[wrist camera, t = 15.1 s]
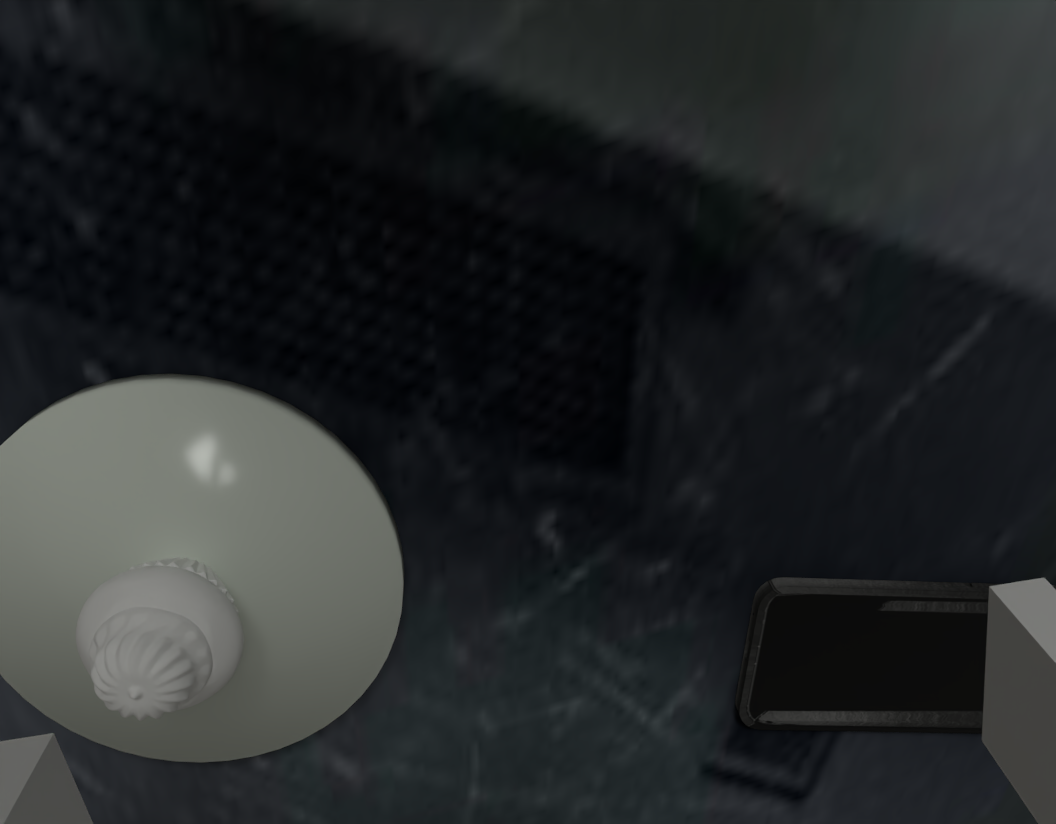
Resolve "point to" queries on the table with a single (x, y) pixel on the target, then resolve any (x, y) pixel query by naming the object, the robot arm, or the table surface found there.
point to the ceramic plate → (197, 555)
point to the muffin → (159, 637)
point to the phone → (865, 656)
